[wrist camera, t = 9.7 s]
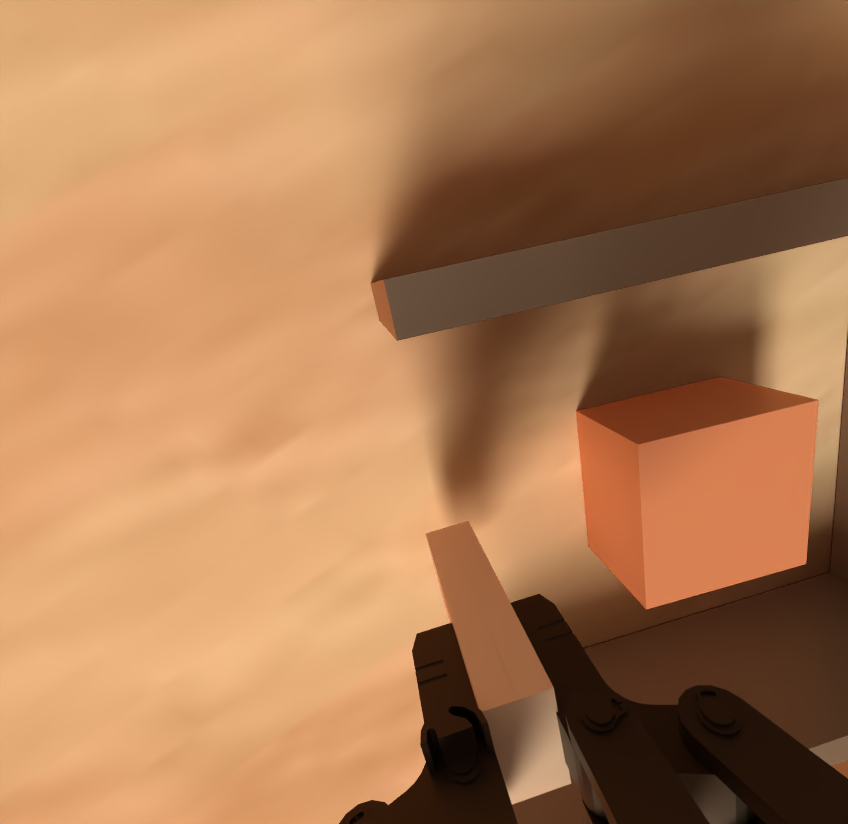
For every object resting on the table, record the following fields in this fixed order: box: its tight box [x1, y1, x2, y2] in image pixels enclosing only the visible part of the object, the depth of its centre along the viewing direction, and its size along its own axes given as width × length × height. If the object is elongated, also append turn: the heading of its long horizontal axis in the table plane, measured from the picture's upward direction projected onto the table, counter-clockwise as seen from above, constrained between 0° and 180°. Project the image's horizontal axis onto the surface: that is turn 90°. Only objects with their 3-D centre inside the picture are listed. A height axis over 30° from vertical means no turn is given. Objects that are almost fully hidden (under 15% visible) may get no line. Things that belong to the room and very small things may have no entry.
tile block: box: [576, 377, 819, 609], centre depth 16 cm, size 6×6×4 cm
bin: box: [371, 178, 848, 824], centre depth 15 cm, size 19×18×6 cm
